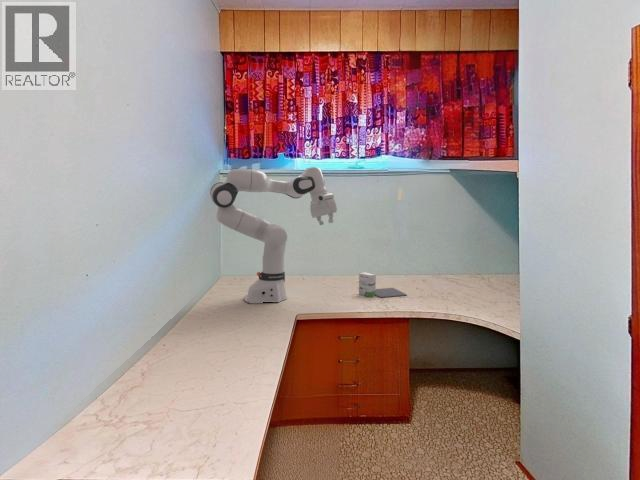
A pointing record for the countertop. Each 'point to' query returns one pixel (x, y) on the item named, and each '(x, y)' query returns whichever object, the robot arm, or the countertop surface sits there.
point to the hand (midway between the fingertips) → (326, 223)
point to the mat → (388, 293)
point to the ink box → (367, 284)
